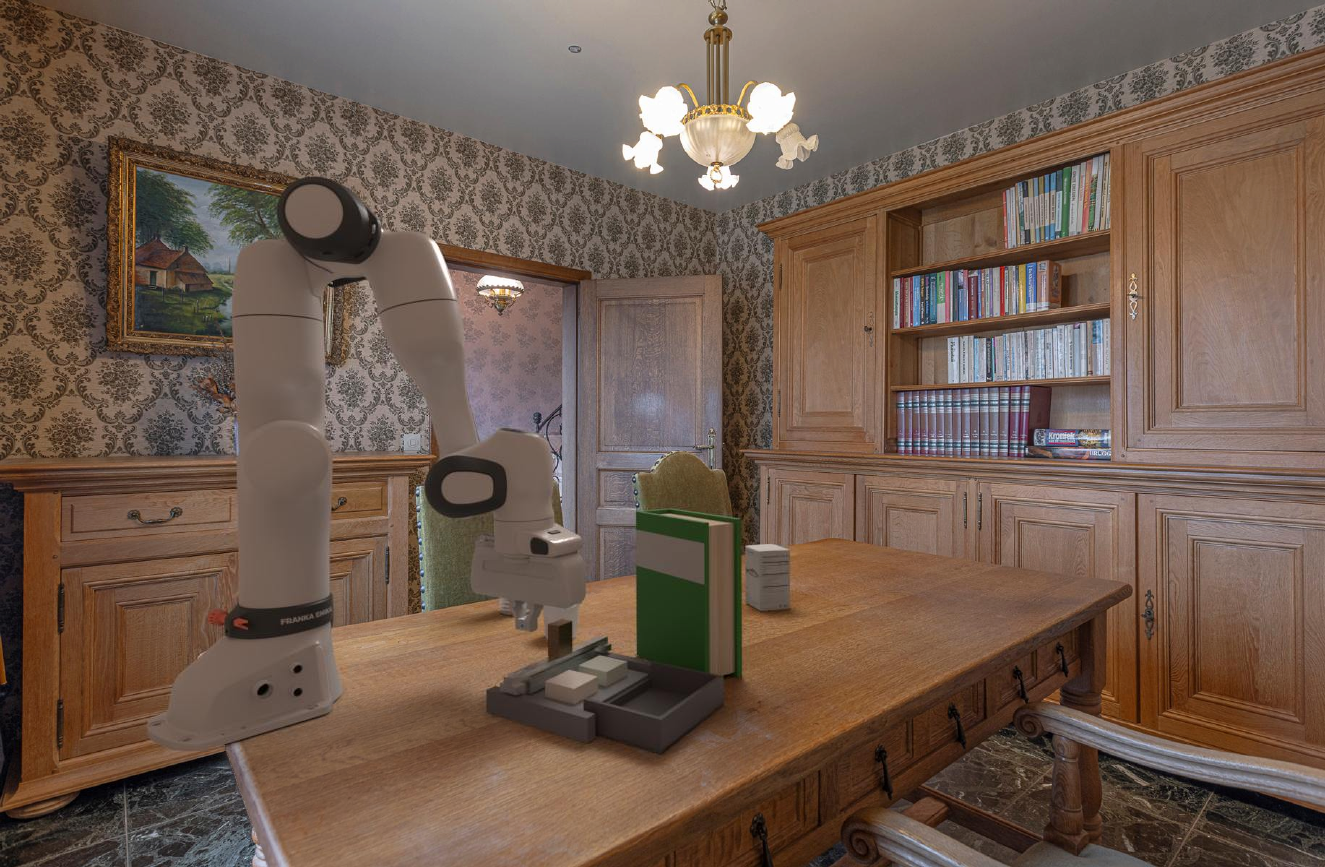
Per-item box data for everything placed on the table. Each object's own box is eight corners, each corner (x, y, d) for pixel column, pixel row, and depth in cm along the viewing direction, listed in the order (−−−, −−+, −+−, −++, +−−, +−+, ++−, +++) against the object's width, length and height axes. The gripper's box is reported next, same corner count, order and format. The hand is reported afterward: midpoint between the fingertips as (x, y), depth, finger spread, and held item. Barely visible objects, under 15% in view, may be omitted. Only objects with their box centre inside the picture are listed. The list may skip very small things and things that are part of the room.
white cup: (572, 643, 116) (572, 604, 116) (536, 641, 118) (536, 602, 118) (585, 632, 123) (584, 594, 123) (550, 630, 124) (550, 592, 124)
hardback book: (742, 676, 100) (741, 518, 100) (704, 687, 96) (704, 522, 96) (671, 646, 115) (671, 508, 115) (636, 655, 110) (635, 511, 110)
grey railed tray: (587, 743, 79) (587, 718, 79) (486, 712, 88) (486, 689, 88) (675, 686, 96) (675, 666, 96) (583, 665, 105) (583, 646, 105)
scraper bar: (516, 703, 85) (516, 644, 85) (499, 698, 86) (499, 640, 86) (611, 657, 102) (611, 607, 102) (596, 653, 104) (595, 604, 104)
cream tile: (574, 704, 85) (574, 688, 85) (545, 696, 88) (545, 681, 88) (597, 691, 90) (597, 676, 90) (569, 684, 92) (569, 669, 92)
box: (661, 754, 76) (661, 719, 76) (579, 730, 82) (579, 698, 82) (723, 705, 90) (723, 675, 90) (649, 687, 96) (649, 660, 96)
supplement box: (744, 603, 143) (744, 545, 143) (775, 600, 145) (774, 543, 145) (759, 611, 136) (759, 550, 136) (791, 608, 138) (791, 548, 138)
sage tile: (606, 686, 91) (606, 672, 91) (578, 679, 94) (578, 665, 94) (627, 675, 96) (627, 661, 96) (599, 668, 98) (599, 655, 98)
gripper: (460, 535, 101) (461, 625, 101) (562, 546, 90) (564, 647, 90) (490, 529, 106) (492, 615, 106) (591, 538, 95) (593, 634, 95)
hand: (526, 629), depth 98 cm, fingers closed
